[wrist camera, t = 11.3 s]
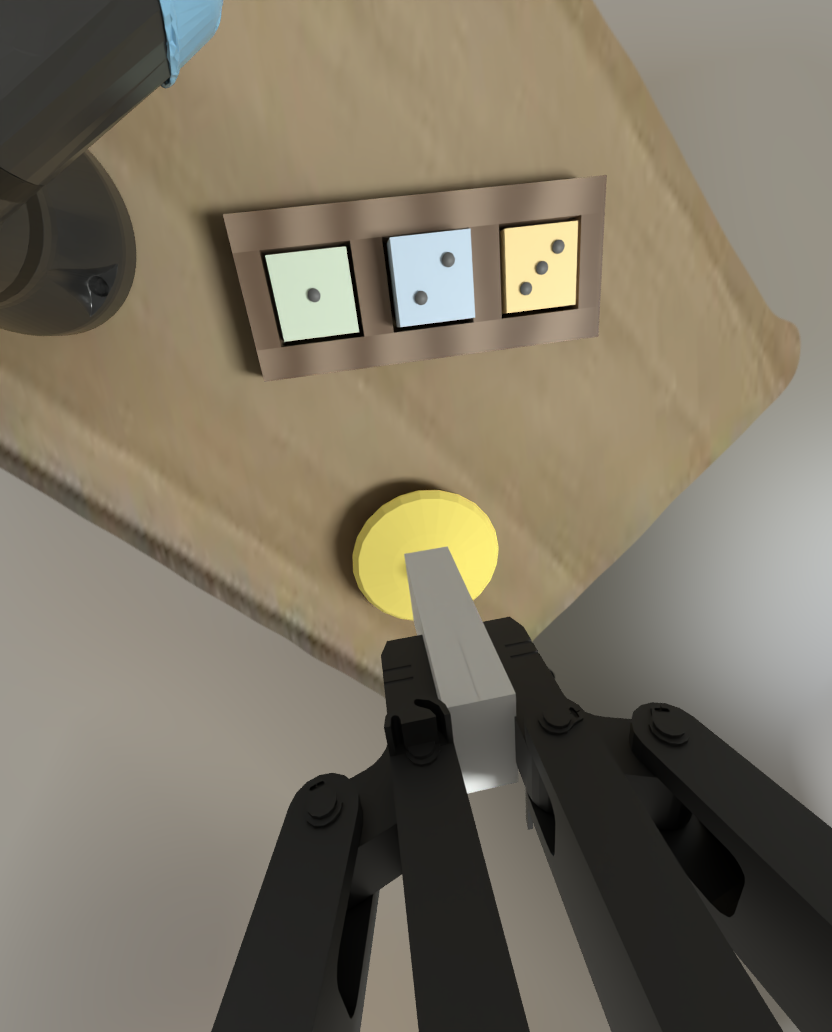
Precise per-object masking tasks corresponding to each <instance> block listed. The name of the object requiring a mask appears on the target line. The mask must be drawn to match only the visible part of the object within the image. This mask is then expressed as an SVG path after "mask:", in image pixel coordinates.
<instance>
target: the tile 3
mask: <svg viewBox="0 0 832 1032" xmlns="http://www.w3.org/2000/svg"><path fill="white" fill-rule="evenodd" d="M577 238H578V221H570V222H561V223H552V224H543V225H534V226H525V227H516V228H507V229H503V230H502V231H500V232H499V247H500V278H501V310H502V314H504V313H513V312H520V311H528V310H536V309H544V308H552V307H559V306H567V305H575V303H576V270H577Z"/></svg>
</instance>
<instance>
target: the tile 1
mask: <svg viewBox="0 0 832 1032" xmlns="http://www.w3.org/2000/svg"><path fill="white" fill-rule="evenodd" d="M265 257H266V261H267V266H268V270H269V275H270V279H271V284H272V288H273V293H274V297H275V302H276V306H277V311H278V315H279V320H280V324H281V329H282V333H283V338H284V342H286V341H294V340H302V339H310V338H318V337H325V336H333V335H341V334H349V333H357V332H359V328H358V321H357V315H356V308H355V302H354V296H353V289H352V283H351V276H350V270H349V263H348V257H347V251H346V246H345V247H335V248H326V249H317V250H308V251H299V252H290V253H281V254H272V255H265Z"/></svg>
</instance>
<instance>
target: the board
mask: <svg viewBox="0 0 832 1032" xmlns="http://www.w3.org/2000/svg"><path fill="white" fill-rule="evenodd" d="M606 178H607V175H603V176H593V177H583V178H573V179H563V180H554V181H544V182H534V183H524V184H514V185H505V186H495V187H485V188H475V189H465V190H456V191H446V192H436V193H426V194H416V195H407V196H397V197H387V198H377V199H367V200H358V201H348V202H338V203H328V204H318V205H309V206H299V207H289V208H279V209H270V210H260V211H250V212H240V213H230V214H223V217H224V221H225V225H226V229H227V233H228V238H229V242H230V246H231V250H232V254H233V258H234V262H235V266H236V270H237V274H238V278H239V282H240V286H241V290H242V294H243V298H244V302H245V306H246V310H247V314H248V318H249V322H250V326H251V330H252V334H253V338H254V342H255V346H256V350H257V354H258V358H259V362H260V366H261V370H262V374H263V378H264V382H266V381H273V380H281V379H288V378H296V377H303V376H310V375H318V374H325V373H333V372H340V371H347V370H355V369H362V368H369V367H377V366H384V365H392V364H399V363H406V362H414V361H421V360H429V359H436V358H443V357H451V356H458V355H465V354H473V353H480V352H488V351H495V350H502V349H510V348H517V347H525V346H532V345H539V344H547V343H554V342H561V341H569V340H576V339H584V338H591V337H598V333H599V313H600V294H601V275H602V255H603V236H604V216H605V197H606ZM570 221H578V238H577V270H576V303H575V305H567V306H563V310H561V311H553V312H545V313H538V314H530V315H522V316H514V317H507V318H502V310H501V278H500V247H499V230H503V229H507V228H516V227H525V226H534V225H543V224H552V223H561V222H570ZM462 229H470V230H471V249H472V267H473V285H474V304H475V318H468V319H465V323H460V324H452V325H445V326H437V327H429V328H421V329H414V330H406V331H398V332H394V330H393V322H392V314H391V306H390V298H389V290H388V283H387V275H386V267H385V259H384V251H383V243H387V242H388V240H389V238H390V237H399V236H408V235H417V234H426V233H435V232H444V231H453V230H462ZM345 246H346V247H350V252H351V258H352V265H353V271H354V278H355V284H356V291H357V298H358V304H359V311H360V317H361V324H362V330H363V336H359V337H352V338H344V339H336V340H328V341H321V342H313V343H305V344H297V345H290V346H285V342H284V338H283V333H282V329H281V324H280V320H279V315H278V311H277V306H276V302H275V297H274V293H273V288H272V284H271V279H270V275H269V270H268V266H267V261H266V257H265V255H272V254H281V253H290V252H299V251H308V250H317V249H326V248H335V247H345Z"/></svg>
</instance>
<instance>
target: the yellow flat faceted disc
mask: <svg viewBox="0 0 832 1032" xmlns="http://www.w3.org/2000/svg"><path fill="white" fill-rule="evenodd" d="M447 546H448V548H449V550H450V553H451V555H452V557H453V559H454V561H455V563H456V566H457V568H458V570H459V572H460V574H461V576H462V579H463V581H464V583H465V585H466V587H467V589H468V592H469V594H470V596H471V598H472V600H474V599H475V598H476V597H478V596H479V595H480V594H481V592H482V591H483V590H484V588H485V587H486V586H487V584H488V583H489V581H490V580H491V577H492V575H493V572H494V570H495V567H496V565H497V557H498V542H497V537H496V531H495V529H494V527H493V525H492V524H491V522H490V520H489V518H488V516H487V515H486V514H485V513H484V512H483V511H482V510H481V509H480V508H479V507H478V506H477V505H476V504H475V503H473V502H471V501H470V500H468V499H466V498H464V497H462V496H460V495H458V494H454V493H449V492H445V491H441V490H417V491H414V492H410V493H407V494H403V495H400V496H398V497H396V498H394V499H393V500H391V501H389V502H387V503H386V504H384V505H382V506H381V507H380V508H379V509H378V510H377V511H376V512H375V513H374V514H373V515H372V516H371V517H370V518H369V519H368V520H367V521H366V523H365V525H364V526H363V528H362V530H361V531H360V533H359V535H358V537H357V539H356V543H355V547H354V551H353V555H352V556H353V573H354V576H355V579H356V581H357V584H358V587H359V589H360V590H361V592H362V593H363V594H364V596H365V597H366V598H367V600H368V601H369V602H370V603H372V604H373V605H374V606H376V607H377V608H378V609H380V610H381V611H382V612H384V613H387V614H389V615H392V616H394V617H397V618H400V619H407V620H413V621H414V619H413V612H412V605H411V598H410V591H409V584H408V577H407V571H406V564H405V557H404V554H406V553H412V552H418V551H424V550H429V549H435V548H441V547H447Z"/></svg>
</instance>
